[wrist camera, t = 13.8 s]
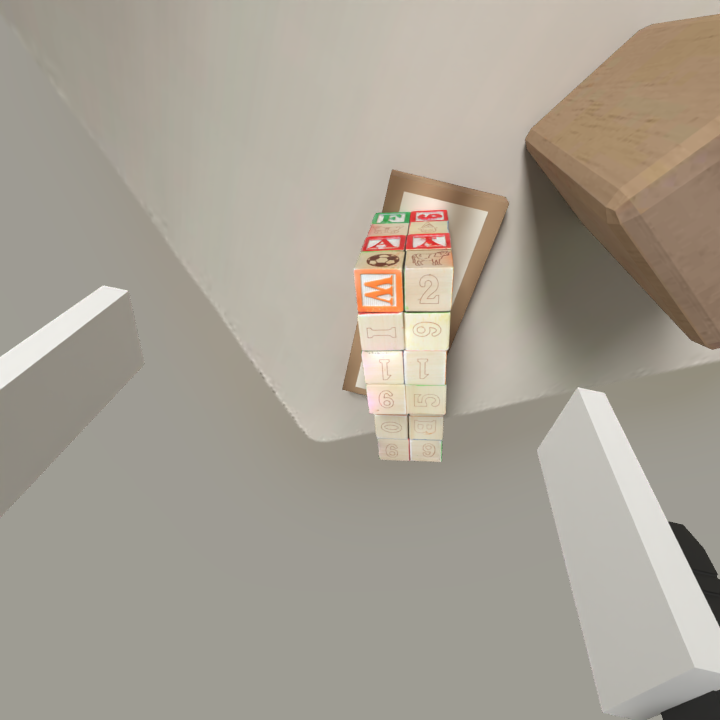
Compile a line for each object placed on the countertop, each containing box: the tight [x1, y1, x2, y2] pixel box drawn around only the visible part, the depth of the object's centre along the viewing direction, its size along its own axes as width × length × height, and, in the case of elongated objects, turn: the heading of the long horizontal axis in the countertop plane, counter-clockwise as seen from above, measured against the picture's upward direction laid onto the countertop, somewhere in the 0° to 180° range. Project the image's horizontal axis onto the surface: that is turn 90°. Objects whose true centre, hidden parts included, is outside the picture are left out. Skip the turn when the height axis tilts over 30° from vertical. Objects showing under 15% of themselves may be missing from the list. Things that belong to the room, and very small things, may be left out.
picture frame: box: [342, 170, 509, 395], centre depth 41 cm, size 10×24×2 cm, turn 169°
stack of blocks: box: [353, 210, 454, 462], centre depth 36 cm, size 21×6×12 cm, turn 5°
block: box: [525, 14, 720, 350], centre depth 24 cm, size 10×10×20 cm
